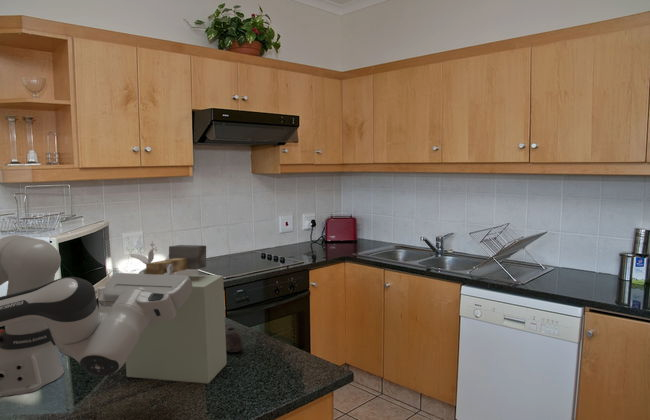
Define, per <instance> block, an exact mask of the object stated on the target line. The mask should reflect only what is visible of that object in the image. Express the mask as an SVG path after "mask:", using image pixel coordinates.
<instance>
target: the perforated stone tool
mask: <svg viewBox="0 0 650 420" xmlns="http://www.w3.org/2000/svg"><path fill="white" fill-rule="evenodd" d="M225 335H226V352H228V353H238V352H240V351H241V350H242V347H243V340H242V336H241V334H240V331H239V330H238V328H236V327H235V326H234V325H232V324H225Z"/></svg>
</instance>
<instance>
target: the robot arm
mask: <svg viewBox="0 0 650 420" xmlns="http://www.w3.org/2000/svg"><path fill="white" fill-rule="evenodd" d="M61 258H62V257H61V255H60V251H58V249H57V248H55V247H54V245H52V243H50V242H48V241H46V240H44V239H39V238H35V237H29V236H25V235H19V234H15V235H14V234H13V235H8V236H4V237H2V238H0V286H2V285H4V284H5V283H7V289H6V290H7V291H6V294H5V295H1V296H0V328H1V327H4V328H5V329H4V328H3V329H2V328H1V329H0V397H7V396H13V395H20V394H27V393H33V392H36V391H38V390H40V389H41V388H42V387H44V386H45V385H48V384H50V383H52V382H54V381H56V380H57V379H60V378H61V377H62V376H63V375H64V373H65V368H64V367H63V365H62V361H61V359H60V356H59V352H60V353H61V354H62V355H64V356H66V357H68V358H69V357H70V358H72V359H75V361H76V362H77V363H78V364H79V366H80V367H81V369H82V370H83V371H84V372H85V373H87V374H89V375H91V376H92V375H93V376H97V377H108V376H110V375H113V374H115V373H116V372H118V371H119V370H120V369H121V368H122V367H123V366H124V365H126V361H127V360H128V358H129V357H130V355H131V354H132V352H133V351H134V349H135V347H136V346H137V344H138V342H139V340H140V336H141V334H142V332H143V331H145V330H146V328H147V327H148V325H152V324H155V323H158V322H162V321H167V320H172V319H174V318H175V317H176V314H177V313H176V310H177V309H179V308H180V307H181V306H182V305H183V304H184V303H185V301H186V300H187V298H188V297H189V295H190V293H191V291H192V289H193V285H192V282H191V280H190V278H189V276H187V275H172V272H173V270H174V267H173V264H166V266H165V267H164V270H165V272H166V273H164V275H160V274H146V267H145V268H143V269H141V270H140V271H139V272H138V273H132V272H131V273H128V272H126V273H125V272H118V273H115V274H113V275H111V277H110V278H109V279H108V281H107V283H106V284H105V285H104V286H105V288H104V291H103V293H102V295H101V296H100V297H99V299H97V294H96V290H95V286H94V285H93V283H91V282H90V281H88V280H86V279H83V278H81V277H76V276H66V277H60V278H58V279H55V278H56V277H55V276H56V273H57V272H58V270H59V269H60V266H61V262H62V259H61ZM99 304H101V306H105V307H106V306H111V308H110V310H109V311H108V312H107V313H101V312H100V311H99ZM58 351H59V352H58Z"/></svg>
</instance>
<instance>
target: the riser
mask: <svg viewBox="0 0 650 420" xmlns="http://www.w3.org/2000/svg"><path fill="white" fill-rule="evenodd" d="M188 276H189V278H190V280H191V282H192V285H193V289H192V291H191V293H190V295H189V297H188V298H187V300H186V301H185V303H184V304H183V305H182V306H181V307H180V308H179V309H177V310H176V313H177V314H176V317H175V318H174V319H172V320H167V321H162V322H158V323H155V324H152V325H148V327H147V328H146V330H145V331H143V332H142V334H141V336H140V340H139V342H138V344H137V346H136V347H135V349H134V351H133V352H132V354H131V355H130V357H129V358H128V360H127V361H126V362H125V370H126V371H125V373H126V378H137V379H149V380H163V381H171V382H172V381H174V382H183V383H184V382H186V383H197V384H210V382H211V381H213V379H214V378H215V377H216V376H217V375H218V374H219V373H220V372H221V371H222V369H224V367H225V366H226V365H227V364H228V363H227V359H228V358H227V350H226V335H225V325H226V317H225V315H226V311H225V310H226V309H225V294H224V293H225V288H224V287H225V286H224V275H220V274H219V275H218V274H216V275H214V274H211V275H210V274H209V275H208V274H199V275H188Z"/></svg>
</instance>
